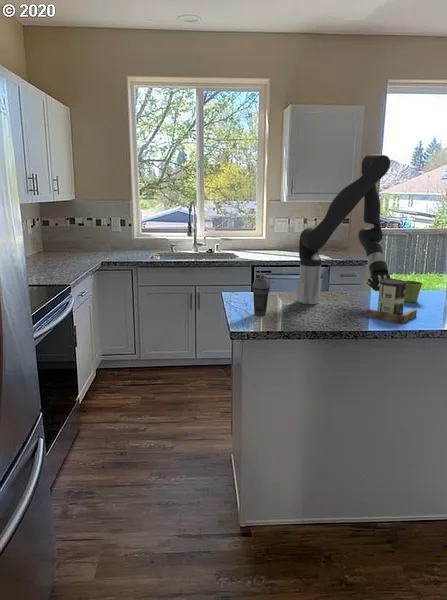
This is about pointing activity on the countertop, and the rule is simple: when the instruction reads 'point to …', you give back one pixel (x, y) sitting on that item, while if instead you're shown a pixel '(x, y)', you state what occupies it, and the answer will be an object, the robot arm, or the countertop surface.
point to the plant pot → (412, 291)
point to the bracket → (392, 315)
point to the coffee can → (391, 296)
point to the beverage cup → (260, 295)
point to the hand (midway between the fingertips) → (385, 298)
